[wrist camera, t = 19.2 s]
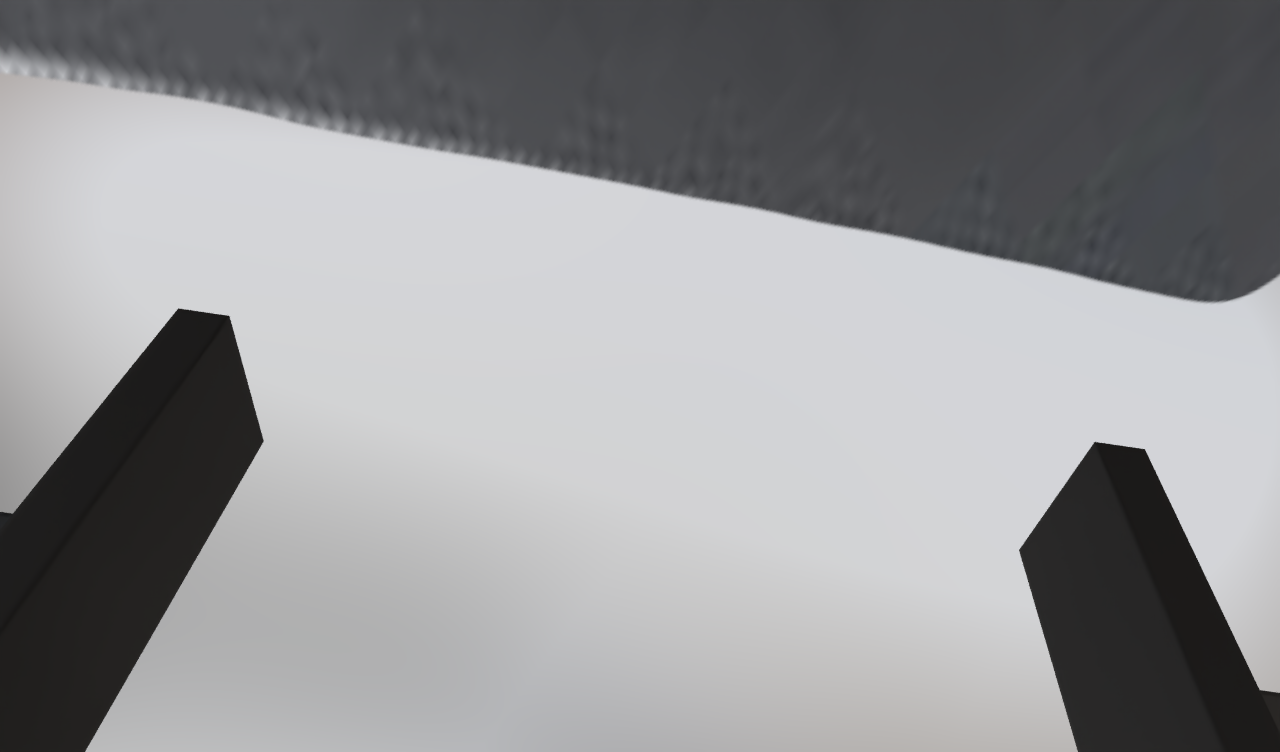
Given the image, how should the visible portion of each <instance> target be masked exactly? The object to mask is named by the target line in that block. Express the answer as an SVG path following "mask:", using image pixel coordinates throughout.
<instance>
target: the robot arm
mask: <svg viewBox="0 0 1280 752" xmlns="http://www.w3.org/2000/svg"><path fill="white" fill-rule="evenodd" d="M262 443H263V437H262V433H261V430H260V426H259V422H258V419H257V415H256V411H255V408H254V405H253V401H252V397H251V393H250V390H249V386H248V382H247V379H246V375H245V371H244V368H243V364H242V361H241V357H240V353H239V349H238V346H237V342H236V339H235V335H234V331H233V327H232V324H231V320H230V317H229V316H226V315H219V314H212V313H205V312H198V311H192V310H184V309H178V310H177V311H176V312H175V313H174V315H173V316H172V317H171V318H170V320H169V321H168V322H167V323H166V324H165V326H164V327H163V328H162V329H161V331H160V332H159V333H158V335H157V336H156V337H155V338H154V339H153V341H152V342H151V343H150V344H149V346H148V347H147V348H146V349H145V351H144V352H143V353H142V354H141V355H140V357H139V358H138V359H137V361H136V362H135V363H134V364H133V365H132V367H131V368H130V369H129V370H128V372H127V373H126V374H125V375H124V377H123V378H122V379H121V380H120V382H119V383H118V384H117V385H116V386H115V388H114V389H113V390H112V392H111V393H110V394H109V395H108V397H107V398H106V399H105V400H104V402H103V403H102V404H101V405H100V406H99V408H98V409H97V410H96V411H95V413H94V414H93V415H92V417H91V418H90V419H89V420H88V421H87V422H86V424H85V425H84V426H83V427H82V429H81V430H80V431H79V432H78V434H77V435H76V436H75V437H74V439H73V440H72V441H71V442H70V444H69V445H68V446H67V447H66V448H65V450H64V451H63V452H62V453H61V455H60V456H59V457H58V458H57V460H56V461H55V462H54V464H53V465H52V466H51V467H50V468H49V470H48V471H47V472H46V474H45V475H44V476H43V477H42V478H41V480H40V481H39V482H38V483H37V485H36V486H35V487H34V488H33V489H32V491H31V492H30V493H29V495H28V496H27V497H26V498H25V499H24V501H23V502H22V503H21V504H20V506H19V507H18V508H17V509H16V511H15V512H14V513H13V514H11V513H4V512H0V752H85V751H86V749H87V747H88V745H89V744H90V742H91V740H92V739H93V737H94V735H95V733H96V732H97V730H98V728H99V726H100V725H101V723H102V721H103V719H104V718H105V716H106V714H107V712H108V711H109V709H110V707H111V705H112V704H113V702H114V700H115V699H116V697H117V695H118V693H119V691H120V690H121V688H122V686H123V685H124V683H125V681H126V680H127V678H128V676H129V674H130V673H131V671H132V669H133V667H134V666H135V664H136V662H137V660H138V659H139V657H140V655H141V653H142V652H143V650H144V648H145V646H146V645H147V643H148V641H149V640H150V638H151V636H152V634H153V632H154V631H155V629H156V627H157V626H158V624H159V622H160V620H161V619H162V617H163V615H164V613H165V612H166V610H167V608H168V607H169V605H170V603H171V601H172V599H173V598H174V596H175V594H176V592H177V591H178V589H179V587H180V586H181V584H182V582H183V580H184V579H185V577H186V575H187V574H188V572H189V570H190V568H191V567H192V565H193V563H194V561H195V560H196V558H197V556H198V554H199V553H200V551H201V549H202V547H203V546H204V544H205V542H206V541H207V539H208V537H209V535H210V533H211V532H212V530H213V528H214V527H215V525H216V523H217V521H218V519H219V518H220V516H221V514H222V513H223V511H224V509H225V508H226V506H227V504H228V502H229V500H230V499H231V497H232V495H233V494H234V492H235V490H236V488H237V487H238V485H239V483H240V481H241V480H242V478H243V476H244V474H245V473H246V471H247V469H248V467H249V466H250V464H251V462H252V461H253V459H254V457H255V455H256V454H257V452H258V450H259V448H260V447H261V445H262ZM1019 551H1020V555H1021V558H1022V562H1023V565H1024V569H1025V572H1026V575H1027V579H1028V582H1029V586H1030V589H1031V592H1032V596H1033V599H1034V602H1035V606H1036V610H1037V613H1038V616H1039V619H1040V623H1041V627H1042V630H1043V634H1044V637H1045V640H1046V644H1047V647H1048V651H1049V654H1050V657H1051V661H1052V664H1053V667H1054V671H1055V675H1056V678H1057V681H1058V685H1059V688H1060V692H1061V695H1062V699H1063V702H1064V705H1065V708H1066V712H1067V715H1068V719H1069V722H1070V726H1071V729H1072V733H1073V736H1074V739H1075V743H1076V746H1077V750H1078V752H1280V693H1276V692H1269V691H1261V690H1259V688H1258V686H1257V684H1256V682H1255V680H1254V677H1253V676H1252V673H1251V671H1250V669H1249V667H1248V665H1247V663H1246V661H1245V659H1244V656H1243V655H1242V652H1241V650H1240V648H1239V646H1238V644H1237V642H1236V640H1235V638H1234V636H1233V633H1232V631H1231V629H1230V627H1229V625H1228V623H1227V621H1226V619H1225V617H1224V615H1223V612H1222V610H1221V608H1220V606H1219V604H1218V602H1217V600H1216V598H1215V596H1214V594H1213V591H1212V589H1211V587H1210V585H1209V583H1208V581H1207V579H1206V577H1205V575H1204V573H1203V570H1202V568H1201V566H1200V564H1199V562H1198V560H1197V558H1196V556H1195V554H1194V552H1193V549H1192V547H1191V546H1190V543H1189V541H1188V539H1187V537H1186V535H1185V533H1184V531H1183V529H1182V527H1181V524H1180V522H1179V520H1178V518H1177V516H1176V514H1175V512H1174V510H1173V508H1172V505H1171V503H1170V501H1169V499H1168V497H1167V495H1166V493H1165V491H1164V489H1163V487H1162V485H1161V482H1160V480H1159V478H1158V476H1157V474H1156V472H1155V470H1154V468H1153V466H1152V463H1151V461H1150V459H1149V457H1148V455H1147V453H1146V451H1145V449H1139V448H1132V447H1126V446H1119V445H1112V444H1105V443H1098V442H1094V444H1093V445H1092V447H1091V448H1090V450H1089V451H1088V452H1087V454H1086V455H1085V457H1084V458H1083V460H1082V461H1081V462H1080V464H1079V465H1078V467H1077V468H1076V470H1075V471H1074V473H1073V474H1072V475H1071V477H1070V478H1069V480H1068V481H1067V483H1066V484H1065V486H1064V487H1063V488H1062V490H1061V491H1060V492H1059V494H1058V496H1057V497H1056V498H1055V500H1054V501H1053V502H1052V504H1051V505H1050V507H1049V508H1048V510H1047V511H1046V512H1045V514H1044V515H1043V517H1042V518H1041V520H1040V521H1039V522H1038V524H1037V525H1036V527H1035V528H1034V530H1033V531H1032V533H1031V534H1030V535H1029V537H1028V538H1027V540H1026V541H1025V543H1024V544H1023V546H1022V547H1021V548H1020V550H1019Z"/></svg>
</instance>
